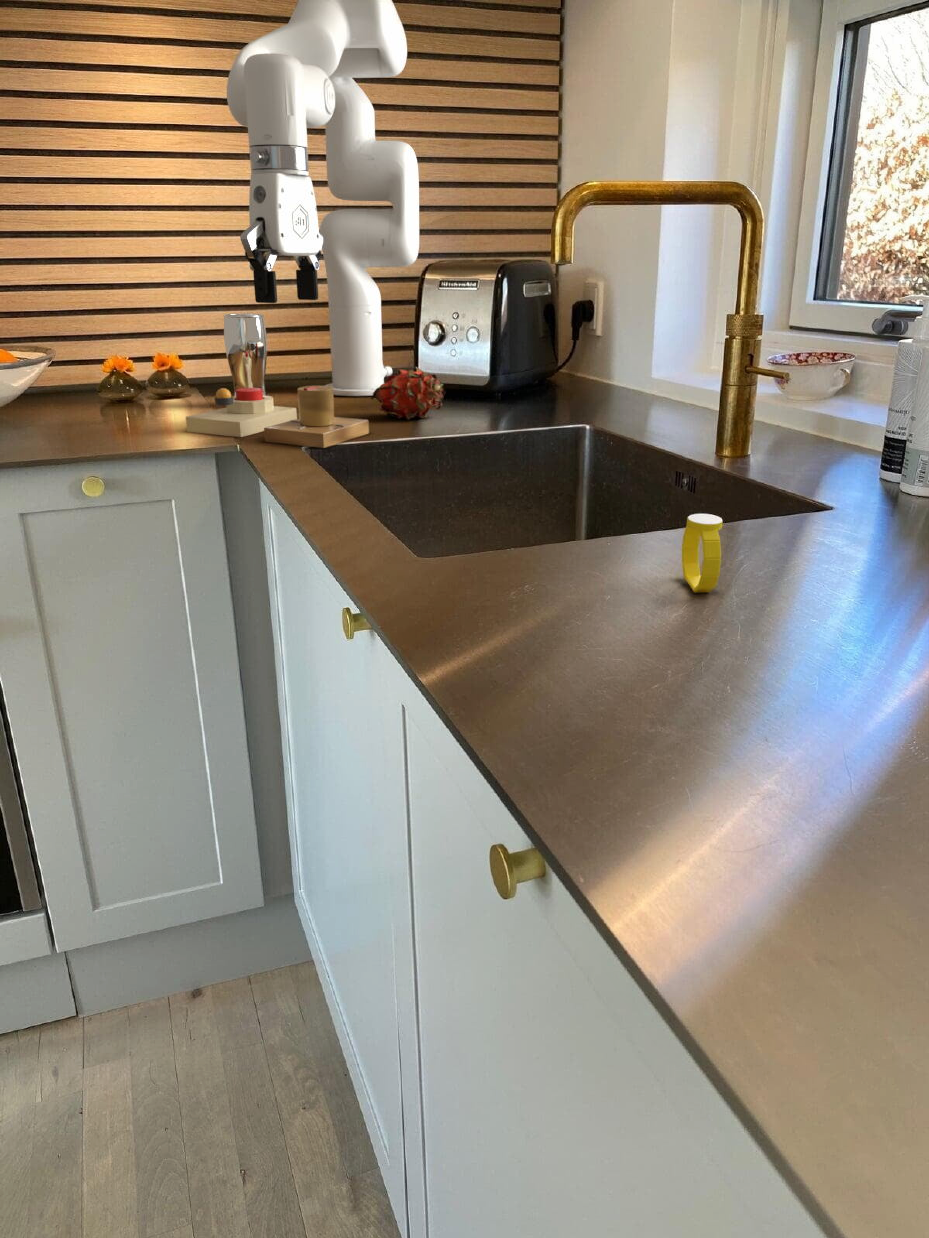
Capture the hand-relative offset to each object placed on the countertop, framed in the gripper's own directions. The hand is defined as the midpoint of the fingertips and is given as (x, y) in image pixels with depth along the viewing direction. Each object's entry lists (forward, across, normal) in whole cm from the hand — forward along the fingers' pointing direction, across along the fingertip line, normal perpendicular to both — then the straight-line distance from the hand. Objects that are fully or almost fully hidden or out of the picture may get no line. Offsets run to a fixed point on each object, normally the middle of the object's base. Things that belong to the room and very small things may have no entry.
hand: (287, 301), depth 130 cm
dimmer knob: (+17, +1, -3) cm, 17 cm away
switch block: (+19, +3, +12) cm, 22 cm away
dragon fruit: (+19, +21, -7) cm, 29 cm away
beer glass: (+19, +20, +23) cm, 35 cm away
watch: (+20, -38, -67) cm, 79 cm away
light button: (+15, +5, +12) cm, 20 cm away
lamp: (+15, -1, +12) cm, 19 cm away
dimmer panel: (+19, +1, -3) cm, 19 cm away
